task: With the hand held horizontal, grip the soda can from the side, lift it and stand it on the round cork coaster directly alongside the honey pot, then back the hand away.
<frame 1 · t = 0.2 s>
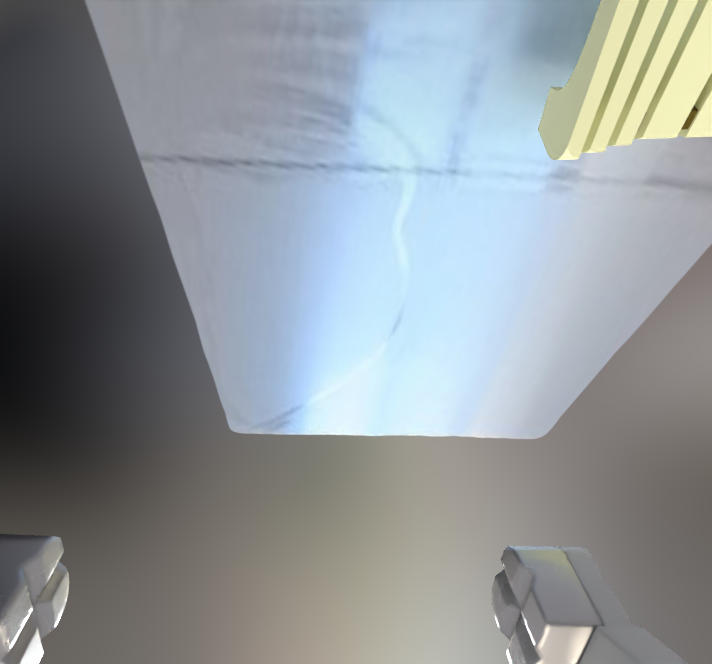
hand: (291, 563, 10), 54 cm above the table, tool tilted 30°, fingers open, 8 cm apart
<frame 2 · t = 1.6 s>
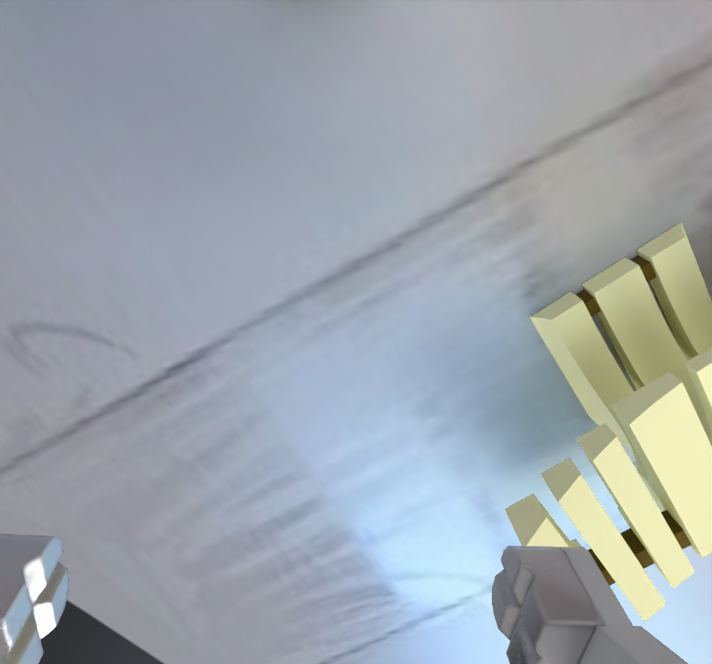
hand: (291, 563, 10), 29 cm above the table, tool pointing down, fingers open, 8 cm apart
slatted curved stool: (636, 340, 44), on the table
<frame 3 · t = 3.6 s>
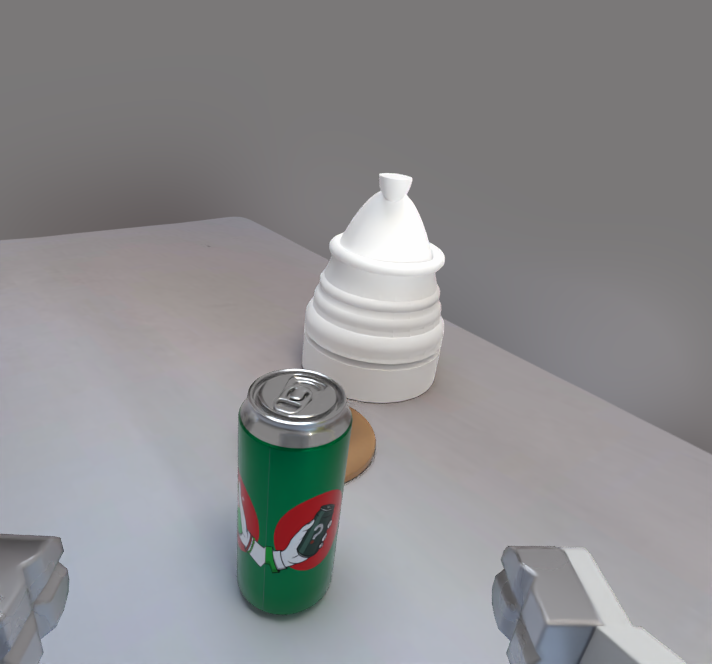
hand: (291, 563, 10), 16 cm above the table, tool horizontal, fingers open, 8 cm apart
honey pot: (368, 366, 49), on the table
soda can: (284, 580, 28), on the table
cork coaster: (308, 440, 38), on the table
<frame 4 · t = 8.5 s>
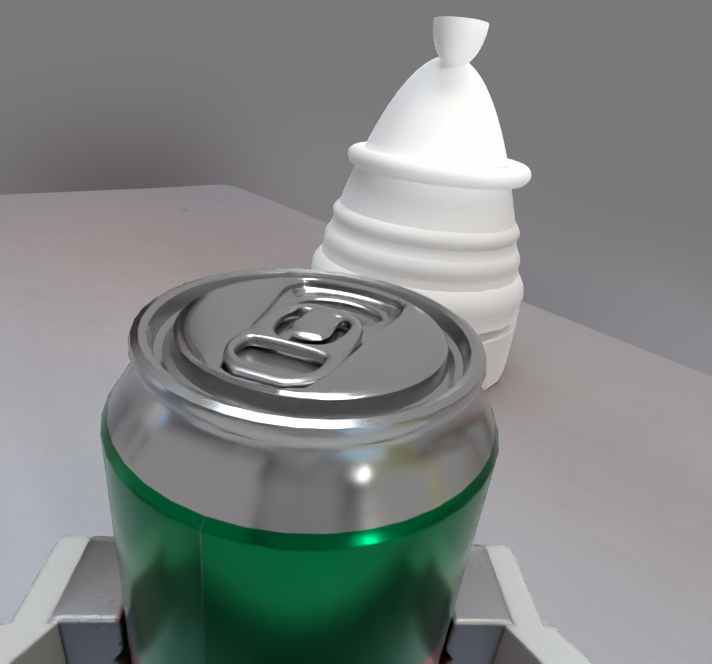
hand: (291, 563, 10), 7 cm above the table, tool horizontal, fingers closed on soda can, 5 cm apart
honey pot: (403, 347, 33), on the table
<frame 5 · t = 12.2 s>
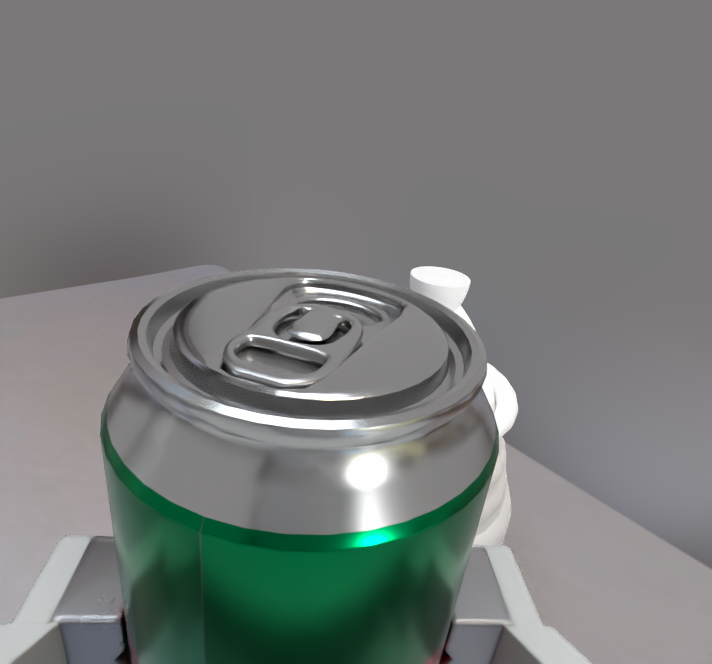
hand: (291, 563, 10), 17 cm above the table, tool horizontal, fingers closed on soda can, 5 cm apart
honey pot: (385, 544, 32), on the table
when the fingers open (7 cm above the table, at t = 16.0 s): soda can stays where it is, resting on cork coaster.
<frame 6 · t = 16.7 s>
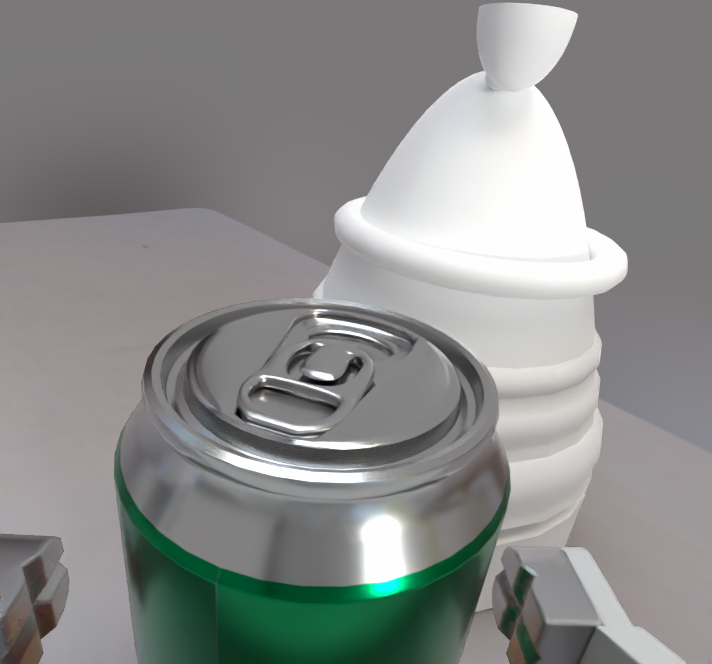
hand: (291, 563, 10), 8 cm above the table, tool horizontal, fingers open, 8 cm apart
honey pot: (416, 485, 23), on the table
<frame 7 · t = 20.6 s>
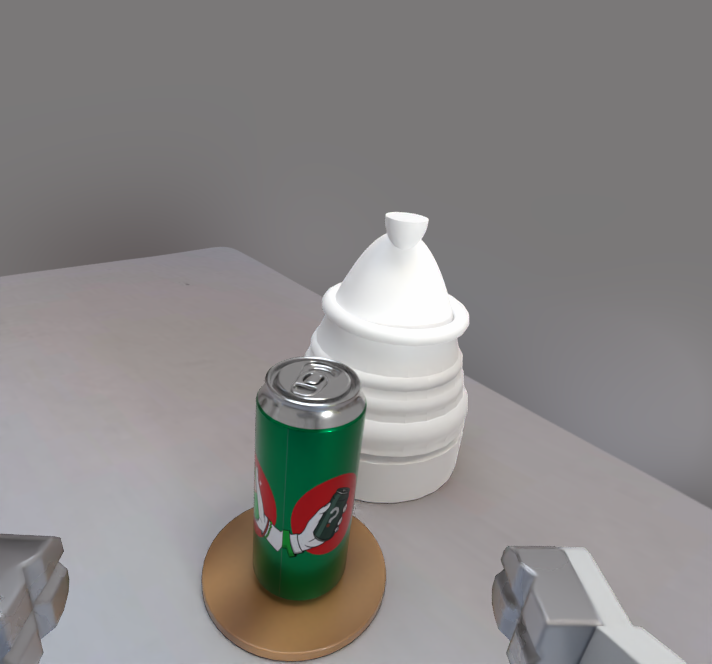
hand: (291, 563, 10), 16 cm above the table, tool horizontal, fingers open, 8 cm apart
honey pot: (372, 444, 40), on the table
soda can: (299, 568, 28), resting on cork coaster
cork coaster: (295, 571, 28), on the table
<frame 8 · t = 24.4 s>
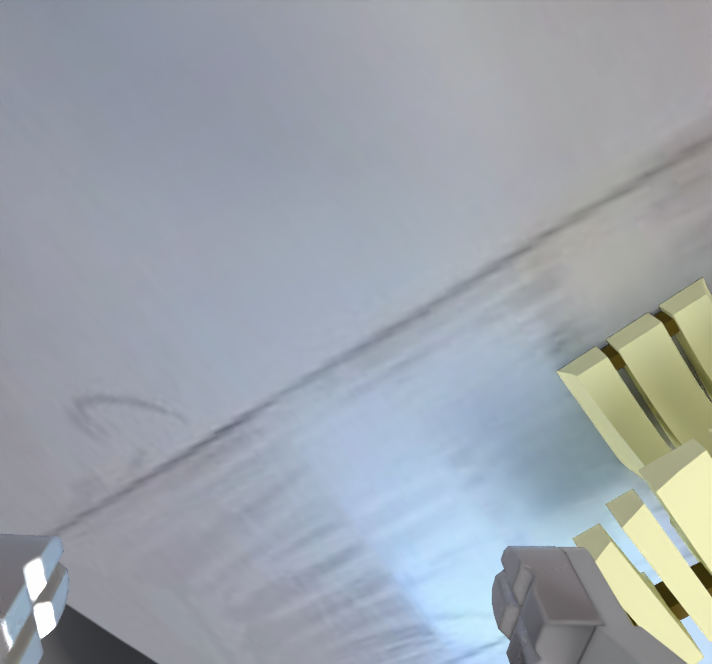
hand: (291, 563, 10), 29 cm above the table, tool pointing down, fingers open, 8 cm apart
slatted curved stool: (663, 388, 45), on the table
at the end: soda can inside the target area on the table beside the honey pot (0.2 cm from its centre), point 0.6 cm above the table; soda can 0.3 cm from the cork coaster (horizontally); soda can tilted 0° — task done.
